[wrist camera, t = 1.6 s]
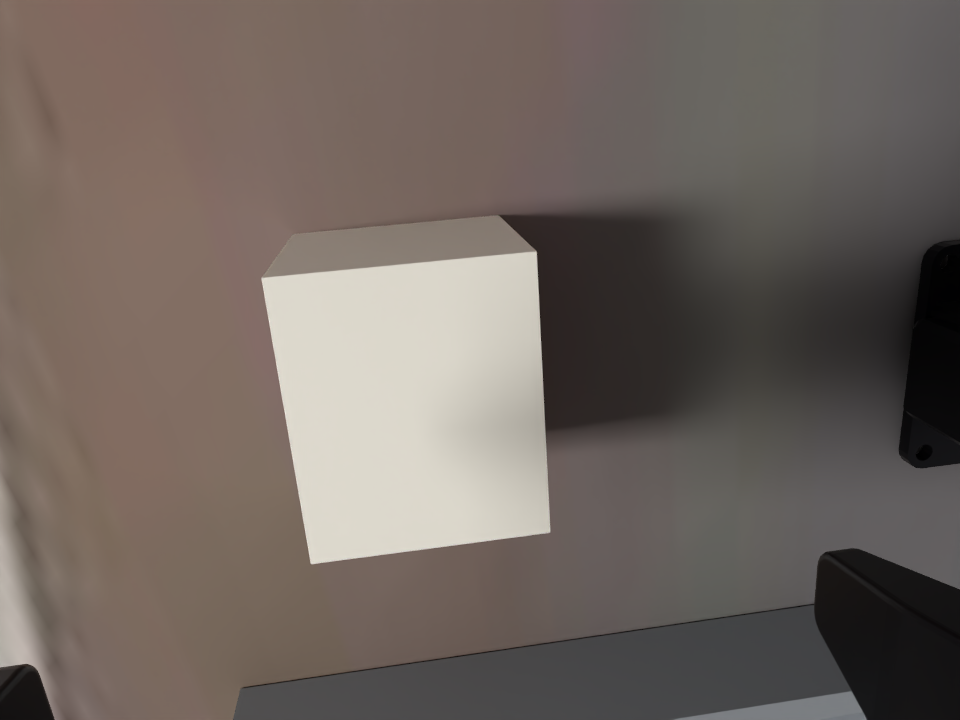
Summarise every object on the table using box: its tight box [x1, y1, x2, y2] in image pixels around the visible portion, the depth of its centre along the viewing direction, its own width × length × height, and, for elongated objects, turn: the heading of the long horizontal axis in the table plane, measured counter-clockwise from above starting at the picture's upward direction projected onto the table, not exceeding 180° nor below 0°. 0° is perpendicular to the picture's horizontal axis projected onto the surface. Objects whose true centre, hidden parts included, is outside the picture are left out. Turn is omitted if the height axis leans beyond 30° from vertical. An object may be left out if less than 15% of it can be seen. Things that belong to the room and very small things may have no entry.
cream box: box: [262, 215, 550, 564], centre depth 17 cm, size 5×6×5 cm
